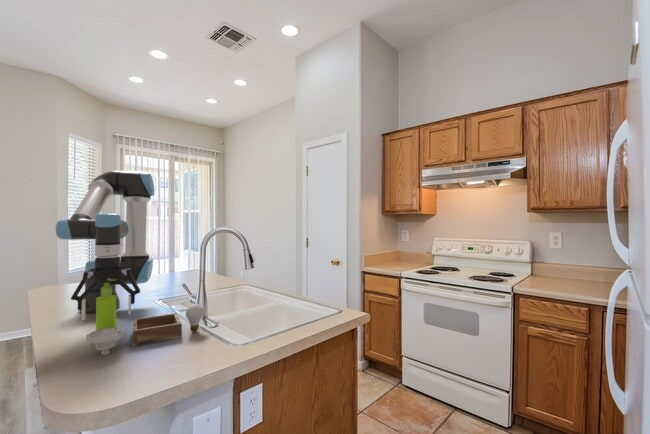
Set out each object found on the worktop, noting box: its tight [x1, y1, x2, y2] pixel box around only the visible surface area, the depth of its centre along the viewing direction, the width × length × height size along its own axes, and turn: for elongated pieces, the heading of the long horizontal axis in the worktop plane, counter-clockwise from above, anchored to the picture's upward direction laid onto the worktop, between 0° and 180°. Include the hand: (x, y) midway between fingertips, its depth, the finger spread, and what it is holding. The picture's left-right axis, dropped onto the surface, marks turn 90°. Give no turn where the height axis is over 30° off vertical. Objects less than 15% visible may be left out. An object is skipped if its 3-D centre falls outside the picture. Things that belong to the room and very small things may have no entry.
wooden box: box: [132, 312, 183, 348], centre depth 111 cm, size 14×14×5 cm
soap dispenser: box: [95, 278, 118, 331], centre depth 112 cm, size 6×7×20 cm
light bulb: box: [185, 303, 204, 333], centre depth 114 cm, size 6×6×10 cm
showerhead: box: [86, 327, 125, 356], centre depth 96 cm, size 9×7×10 cm
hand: (107, 316), depth 112 cm, fingers open, 13 cm apart
